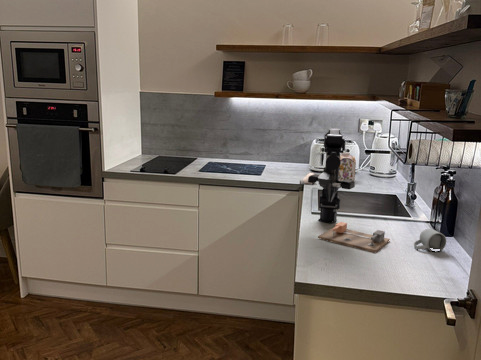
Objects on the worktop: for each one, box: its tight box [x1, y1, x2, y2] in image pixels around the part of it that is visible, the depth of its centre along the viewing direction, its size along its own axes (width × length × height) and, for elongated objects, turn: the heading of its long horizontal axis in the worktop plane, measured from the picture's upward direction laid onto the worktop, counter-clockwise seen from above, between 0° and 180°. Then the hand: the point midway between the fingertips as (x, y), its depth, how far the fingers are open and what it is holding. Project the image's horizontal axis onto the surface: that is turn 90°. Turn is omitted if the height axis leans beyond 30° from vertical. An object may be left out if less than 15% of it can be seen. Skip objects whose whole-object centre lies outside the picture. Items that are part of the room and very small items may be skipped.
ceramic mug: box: [413, 228, 447, 252], centre depth 187 cm, size 11×8×8 cm
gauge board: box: [317, 225, 391, 253], centre depth 194 cm, size 24×16×4 cm, turn 55°
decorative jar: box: [339, 151, 357, 182], centre depth 294 cm, size 12×12×18 cm
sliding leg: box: [332, 221, 348, 235], centre depth 198 cm, size 3×10×3 cm, turn 145°
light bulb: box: [299, 172, 314, 185], centre depth 287 cm, size 7×7×11 cm
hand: (329, 201), depth 201 cm, fingers closed
